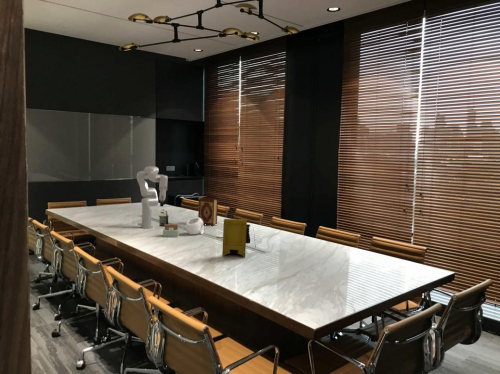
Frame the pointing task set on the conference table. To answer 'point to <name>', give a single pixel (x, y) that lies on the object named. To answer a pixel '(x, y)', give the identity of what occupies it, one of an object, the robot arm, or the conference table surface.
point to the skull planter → (195, 226)
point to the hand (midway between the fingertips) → (162, 205)
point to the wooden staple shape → (171, 226)
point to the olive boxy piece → (235, 236)
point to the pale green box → (170, 233)
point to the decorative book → (208, 210)
